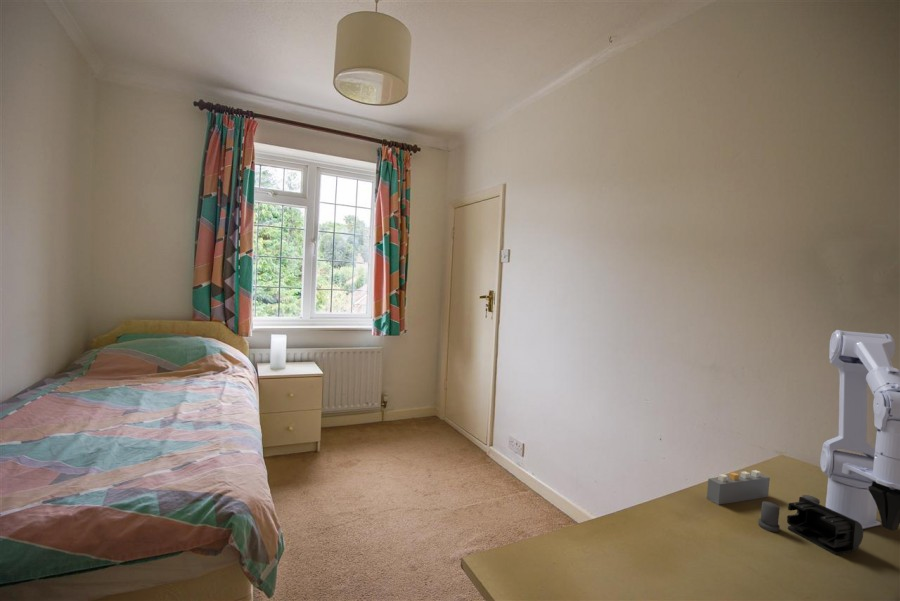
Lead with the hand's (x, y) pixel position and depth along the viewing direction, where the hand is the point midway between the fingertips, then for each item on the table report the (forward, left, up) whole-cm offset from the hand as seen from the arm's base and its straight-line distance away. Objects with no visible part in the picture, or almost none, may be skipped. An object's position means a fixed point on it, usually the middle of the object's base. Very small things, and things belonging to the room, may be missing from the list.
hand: (889, 527), depth 76 cm
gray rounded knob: (+7, -16, -8) cm, 19 cm away
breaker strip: (0, -28, -8) cm, 29 cm away
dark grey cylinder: (-7, -16, -8) cm, 19 cm away
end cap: (0, -10, -9) cm, 13 cm away
